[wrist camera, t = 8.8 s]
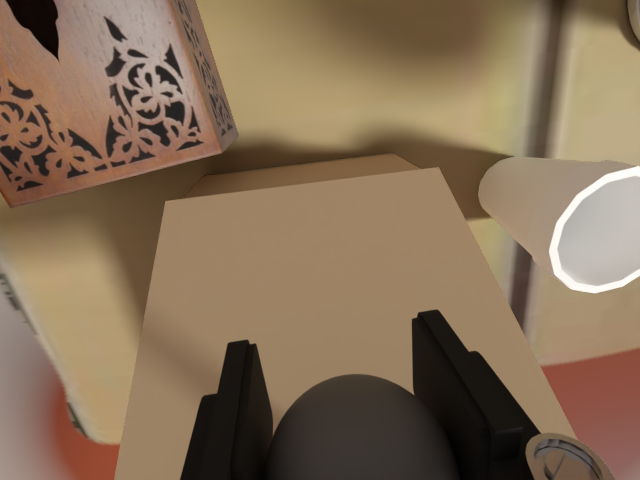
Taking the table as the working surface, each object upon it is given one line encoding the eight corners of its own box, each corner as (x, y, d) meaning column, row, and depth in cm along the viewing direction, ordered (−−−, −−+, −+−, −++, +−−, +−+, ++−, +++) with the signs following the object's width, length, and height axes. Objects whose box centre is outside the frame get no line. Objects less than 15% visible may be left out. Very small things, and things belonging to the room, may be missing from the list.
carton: (201, 175, 33) (170, 208, 24) (392, 152, 34) (432, 175, 25) (241, 346, 41) (229, 419, 32) (396, 324, 42) (427, 389, 33)
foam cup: (569, 180, 37) (704, 222, 25) (502, 245, 40) (597, 313, 28) (513, 120, 34) (636, 137, 22) (444, 195, 37) (523, 246, 25)
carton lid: (169, 209, 24) (90, 66, 16) (436, 175, 25) (478, 25, 17) (95, 647, 12) (-346, 884, 4) (620, 551, 13) (1041, 606, 5)
